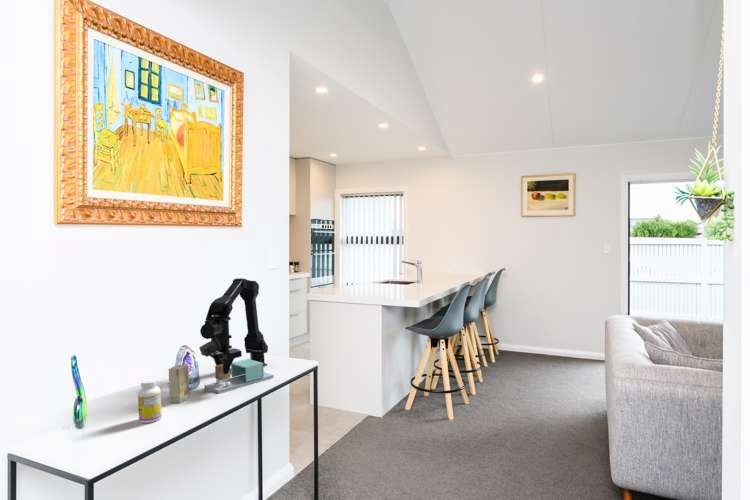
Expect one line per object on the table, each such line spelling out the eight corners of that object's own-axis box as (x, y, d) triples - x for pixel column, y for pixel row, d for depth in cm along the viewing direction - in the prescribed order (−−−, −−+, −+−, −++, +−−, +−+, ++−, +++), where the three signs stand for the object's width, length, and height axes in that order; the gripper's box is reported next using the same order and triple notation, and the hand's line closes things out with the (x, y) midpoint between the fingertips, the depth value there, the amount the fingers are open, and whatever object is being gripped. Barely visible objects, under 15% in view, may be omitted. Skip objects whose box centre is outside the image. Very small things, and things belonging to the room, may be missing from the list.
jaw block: (215, 378, 184) (215, 365, 184) (224, 376, 187) (224, 363, 187) (221, 380, 182) (220, 367, 182) (230, 377, 185) (229, 365, 185)
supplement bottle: (140, 418, 155) (138, 379, 155) (162, 414, 157) (160, 376, 157) (137, 425, 149) (136, 385, 148) (160, 422, 151) (159, 382, 151)
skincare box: (180, 403, 168) (178, 369, 168) (169, 402, 169) (167, 369, 168) (190, 397, 175) (188, 364, 174) (179, 396, 175) (178, 364, 175)
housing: (231, 377, 193) (231, 362, 193) (248, 372, 199) (248, 358, 199) (246, 382, 186) (246, 367, 186) (263, 377, 192) (263, 363, 192)
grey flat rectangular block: (204, 388, 184) (204, 381, 184) (259, 373, 203) (258, 367, 203) (218, 393, 177) (218, 386, 177) (273, 377, 196) (273, 371, 196)
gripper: (190, 334, 184) (191, 373, 185) (214, 340, 172) (216, 382, 172) (216, 329, 193) (217, 367, 193) (241, 334, 180) (243, 375, 181)
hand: (222, 373), depth 185 cm, fingers closed on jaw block, 4 cm apart
